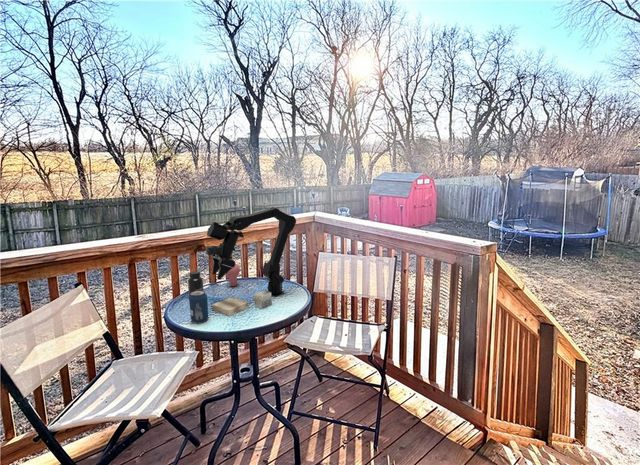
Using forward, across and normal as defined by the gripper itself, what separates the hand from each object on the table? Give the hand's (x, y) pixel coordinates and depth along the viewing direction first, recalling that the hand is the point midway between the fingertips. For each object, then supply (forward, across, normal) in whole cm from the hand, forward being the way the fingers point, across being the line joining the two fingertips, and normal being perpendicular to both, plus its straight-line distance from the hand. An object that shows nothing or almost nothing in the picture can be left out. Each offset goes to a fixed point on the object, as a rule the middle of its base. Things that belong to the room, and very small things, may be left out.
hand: (215, 276), depth 165 cm
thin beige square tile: (+11, +5, +10) cm, 16 cm away
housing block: (+5, +9, +22) cm, 25 cm away
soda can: (+17, +10, -2) cm, 20 cm away
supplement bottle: (+15, -18, +1) cm, 23 cm away
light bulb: (+6, -23, +18) cm, 30 cm away
